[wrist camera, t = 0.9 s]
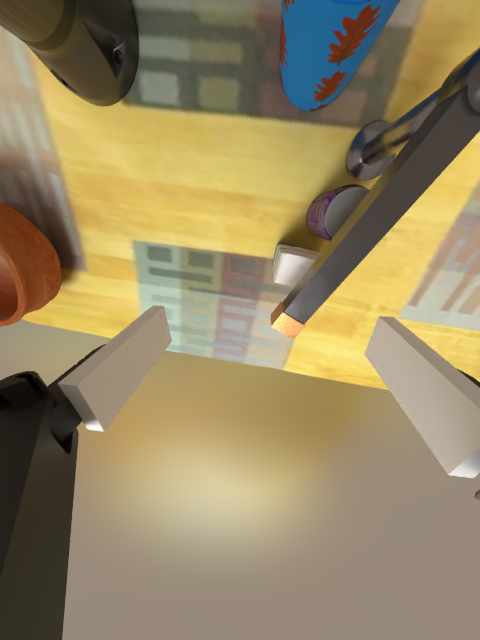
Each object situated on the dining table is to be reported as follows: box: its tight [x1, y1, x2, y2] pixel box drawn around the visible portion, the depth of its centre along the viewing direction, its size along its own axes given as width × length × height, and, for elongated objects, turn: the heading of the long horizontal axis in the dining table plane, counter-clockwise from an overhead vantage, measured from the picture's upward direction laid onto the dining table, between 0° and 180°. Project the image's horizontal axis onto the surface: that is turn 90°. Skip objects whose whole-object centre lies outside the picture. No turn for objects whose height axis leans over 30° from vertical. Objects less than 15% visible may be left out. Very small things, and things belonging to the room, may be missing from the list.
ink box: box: [272, 243, 321, 287], centre depth 34 cm, size 8×5×12 cm, turn 79°
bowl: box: [0, 202, 62, 327], centre depth 39 cm, size 25×25×15 cm
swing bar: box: [271, 47, 480, 339], centre depth 20 cm, size 28×4×4 cm, turn 150°
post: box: [346, 88, 441, 181], centre depth 23 cm, size 7×7×16 cm
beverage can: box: [306, 184, 370, 241], centre depth 30 cm, size 7×7×12 cm
